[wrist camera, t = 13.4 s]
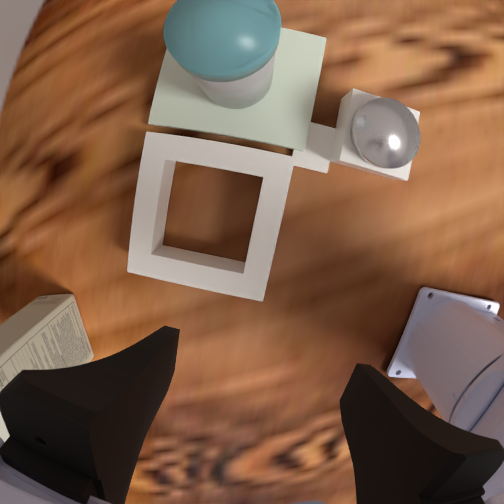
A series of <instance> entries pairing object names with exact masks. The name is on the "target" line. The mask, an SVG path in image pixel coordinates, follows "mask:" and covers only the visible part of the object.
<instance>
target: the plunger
mask: <svg viewBox="0 0 504 504" xmlns="http://www.w3.org/2000/svg"><path fill="white" fill-rule="evenodd" d="M350 136H351V141H352V144H353V146H354V148H355V150H356V152H357V153H358V155H359V156H360V157H361V158H362V159H363V160H364V161H365V162H367V163H368V164H370V165H372V166H375V167H378V168H384V169H395V168H400V167H403V166H405V165H407V164H408V163H409V162H410V161H411V160H412V159H413V158H414V157H415V155H416V154H417V152H418V149H419V145H420V129H419V125H418V123H417V120H416V118H415V117H414V115H413V113H412V112H411V111H410V110H409V109H408V108H407V107H406V106H405V105H404V104H402V103H401V102H399V101H397V100H394V99H391V98H377V99H373V100H371V101H369V102H367V103H366V104H364V105H363V106H361V107H360V108H359V109H358V110H357V111H356V112H355V114H354V116H353V118H352V121H351V125H350Z"/></svg>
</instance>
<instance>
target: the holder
mask: <svg viewBox="0 0 504 504" xmlns="http://www.w3.org/2000/svg"><path fill="white" fill-rule="evenodd" d="M377 98H381V97H378V96H375V95H372V94H369V93H366V92H363V91H360V90H357V89H354V88H353V89H352V90H351V91H350V92H349V93H347V94H346V95H345V96H344V97H343V98H342V99H341V102H340V107H339V113H338V118H337V123H336V128H332V127H328V126H324V125H320V124H316V123H313V122H310V126H309V131H308V136H307V141H306V146H305V150H304V151H299V150H293V153H292V156H288V155H283V154H279V153H274V152H269V151H264V150H260V149H255V148H249V147H244V146H239V145H234V144H228V143H222V142H217V141H211V140H204V139H198V138H192V137H185V136H178V135H170V134H163V133H155V132H146V136H145V141H144V147H143V152H142V158H141V163H140V169H139V175H138V182H137V188H136V195H135V202H134V210H133V218H132V226H131V235H130V245H129V255H128V267H127V272H130V273H134V274H138V275H143V276H147V277H151V278H155V279H160V280H164V281H168V282H173V283H177V284H181V285H186V286H190V287H195V288H200V289H204V290H209V291H213V292H218V293H223V294H228V295H233V296H237V297H242V298H247V299H252V300H257V301H262V302H263V299H264V294H265V290H266V286H267V282H268V277H269V273H270V269H271V264H272V260H273V256H274V251H275V247H276V243H277V238H278V234H279V229H280V225H281V220H282V216H283V212H284V207H285V202H286V198H287V193H288V189H289V184H290V180H291V175H292V170H293V166H298V167H302V168H306V169H310V170H314V171H318V172H323V173H327V172H328V168H329V163H330V162H332V163H336V164H340V165H344V166H347V167H351V168H354V169H358V170H362V171H365V172H368V173H372V174H375V175H379V176H382V177H385V178H388V179H396V180H405V181H408V177H409V172H410V167H411V162H412V160H411V161H410V162H409V163H408V164H407V165H405V166H403V167H400V168H395V169H384V168H378V167H375V166H372V165H370V164H368V163H367V162H365V161H364V160H363V159H362V158H361V157H360V156H359V155H358V153H357V152H356V150H355V148H354V146H353V144H352V141H351V136H350V125H351V121H352V118H353V116H354V114H355V112H356V111H357V110H358V109H359V108H360V107H361V106H363V105H364V104H366V103H367V102H369V101H371V100H373V99H377ZM407 108H408V107H407ZM408 109H409V110H410V111H411V112H412V113H413V115H414V117H415V118H416V120H417V123H418V122H419V115H420V112H418V111H416V110H413V109H411V108H408ZM176 161H178V162H184V163H190V164H196V165H202V166H208V167H213V168H219V169H224V170H230V171H235V172H240V173H245V174H250V175H255V176H260V177H263V181H262V186H261V190H260V195H259V200H258V205H257V210H256V214H255V219H254V224H253V229H252V233H251V238H250V243H249V248H248V253H247V257H246V262H242V261H237V260H232V259H228V258H223V257H218V256H213V255H208V254H204V253H199V252H194V251H189V250H184V249H180V248H175V247H170V246H166V245H163V239H164V231H165V224H166V218H167V211H168V205H169V198H170V192H171V186H172V181H173V175H174V169H175V164H176Z"/></svg>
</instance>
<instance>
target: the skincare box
mask: <svg viewBox="0 0 504 504" xmlns="http://www.w3.org/2000/svg"><path fill="white" fill-rule="evenodd" d="M93 357H94V354H93V351H92V349H91V346H90V343H89V340H88V337H87V334H86V331H85V328H84V325H83V322H82V319H81V316H80V313H79V310H78V307H77V304H76V301H75V298H74V295H73V294H59V295H45V296H38V297H37V298H36V299H34V300H33V301H31V302H30V303H29V304H27V305H26V306H24V307H23V308H22V309H20V310H19V311H18V312H16V313H15V314H14V315H12V316H11V317H10V318H8V319H7V320H6V321H4V322H3V323H2V324H0V392H1V390H2V389H3V388H4V387H5V386H6V385H7V384H8V383H9V382H10V381H11V380H12V379H13V378H14V377H15V376H16V375H17V374H18V373H20V372H21V371H22V370H46V369H58V368H66V367H72V366H77V365H81V364H85V363H89V362H90V361H91V360H92V358H93ZM9 436H10V435H9V433H8V430H7V428H6V425H5V423H4V420H3V418H2V415H1V412H0V437H1V438H2V440H3V441H4V442H5V441H6V440H7V439H8V438H9Z"/></svg>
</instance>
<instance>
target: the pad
mask: <svg viewBox="0 0 504 504" xmlns="http://www.w3.org/2000/svg"><path fill="white" fill-rule="evenodd" d="M326 39H327V38H324V37H321V36H317V35H313V34H308V33H304V32H300V31H295V30H290V29H285V28H281V31H280V38H279V44H278V47H277V50H276V52H275V60H274V68H273V77H272V83H271V87H270V89H269V91H268V93H267V94H266V95H265V97H264V98H263V99H262V100H260V101H259V102H258V103H256V104H254V105H252V106H250V107H247V108H243V109H228V108H224V107H221V106H219V105H217V104H215V103H214V102H213V101H211V100H210V99H209V98H208V96H207V95H206V94H205V93H204V91H203V90H202V89H201V87H200V86H199V85H198V84H197V82H196V81H195V80H194V79H193V77H192V76H191V75H190V74H189V73H188V72H186V71H185V70H184V69H183V68H182V67H181V66H180V65H179V64H178V62H177V61H176V60H175V59H174V58H173V56H172V55H171V54H170V52H169V51H168V49H166V52H165V56H164V59H163V63H162V67H161V71H160V74H159V78H158V82H157V86H156V90H155V94H154V98H153V103H152V107H151V112H150V116H149V121H148V124H150V125H152V126H159V127H168V128H175V129H183V130H190V131H197V132H203V133H209V134H216V135H222V136H227V137H233V138H238V139H244V140H249V141H254V142H259V143H264V144H269V145H274V146H278V147H283V148H287V149H292V150H299V151H304V150H305V146H306V141H307V136H308V131H309V126H310V122H311V117H312V112H313V107H314V102H315V97H316V92H317V86H318V81H319V76H320V71H321V66H322V60H323V55H324V50H325V44H326Z"/></svg>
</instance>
